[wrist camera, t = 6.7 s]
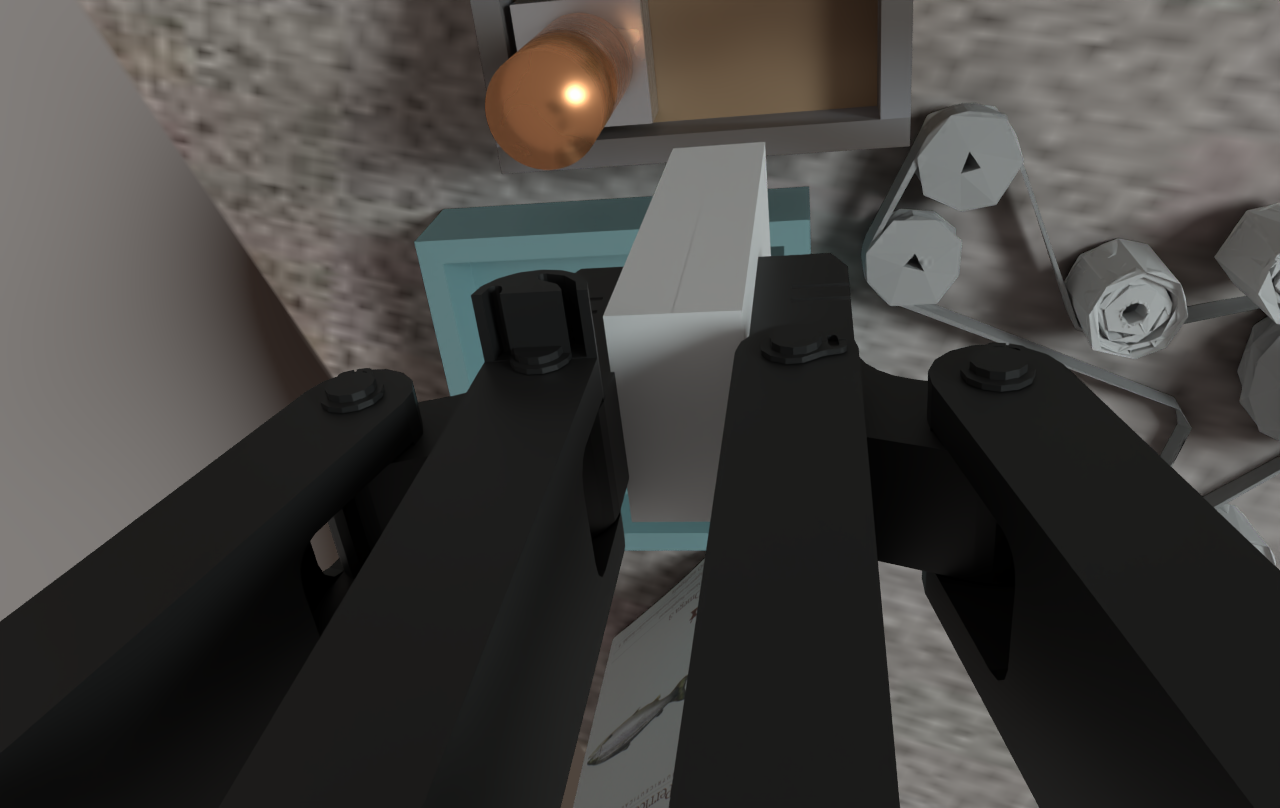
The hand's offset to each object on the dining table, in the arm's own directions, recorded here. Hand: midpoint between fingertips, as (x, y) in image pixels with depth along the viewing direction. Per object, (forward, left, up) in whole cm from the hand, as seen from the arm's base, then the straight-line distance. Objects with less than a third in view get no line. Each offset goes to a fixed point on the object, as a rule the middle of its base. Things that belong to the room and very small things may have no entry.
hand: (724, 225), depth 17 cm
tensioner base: (0, +2, -16) cm, 17 cm away
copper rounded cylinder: (0, +5, -14) cm, 15 cm away
